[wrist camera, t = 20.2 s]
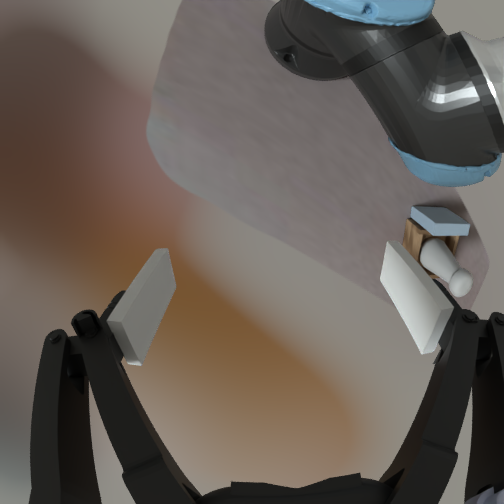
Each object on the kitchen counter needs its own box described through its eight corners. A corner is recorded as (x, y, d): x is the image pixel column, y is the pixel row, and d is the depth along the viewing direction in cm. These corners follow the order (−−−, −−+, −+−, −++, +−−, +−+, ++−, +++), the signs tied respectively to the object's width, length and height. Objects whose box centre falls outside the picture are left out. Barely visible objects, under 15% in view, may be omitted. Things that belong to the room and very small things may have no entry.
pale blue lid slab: (412, 206, 40) (435, 223, 33) (445, 207, 40) (470, 224, 32) (410, 216, 41) (433, 235, 34) (443, 217, 40) (467, 235, 33)
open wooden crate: (406, 218, 41) (420, 230, 37) (446, 219, 41) (460, 230, 36) (398, 266, 45) (408, 280, 41) (436, 263, 45) (448, 277, 40)
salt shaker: (444, 239, 40) (484, 276, 29) (430, 265, 43) (465, 306, 31) (424, 228, 40) (465, 266, 28) (409, 256, 42) (445, 299, 31)
